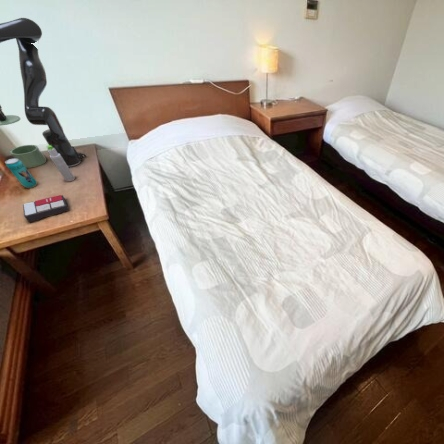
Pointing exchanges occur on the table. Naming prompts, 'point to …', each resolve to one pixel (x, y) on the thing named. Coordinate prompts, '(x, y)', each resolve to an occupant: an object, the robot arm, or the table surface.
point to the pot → (29, 155)
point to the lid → (9, 119)
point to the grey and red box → (44, 208)
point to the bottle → (60, 164)
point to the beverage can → (21, 172)
